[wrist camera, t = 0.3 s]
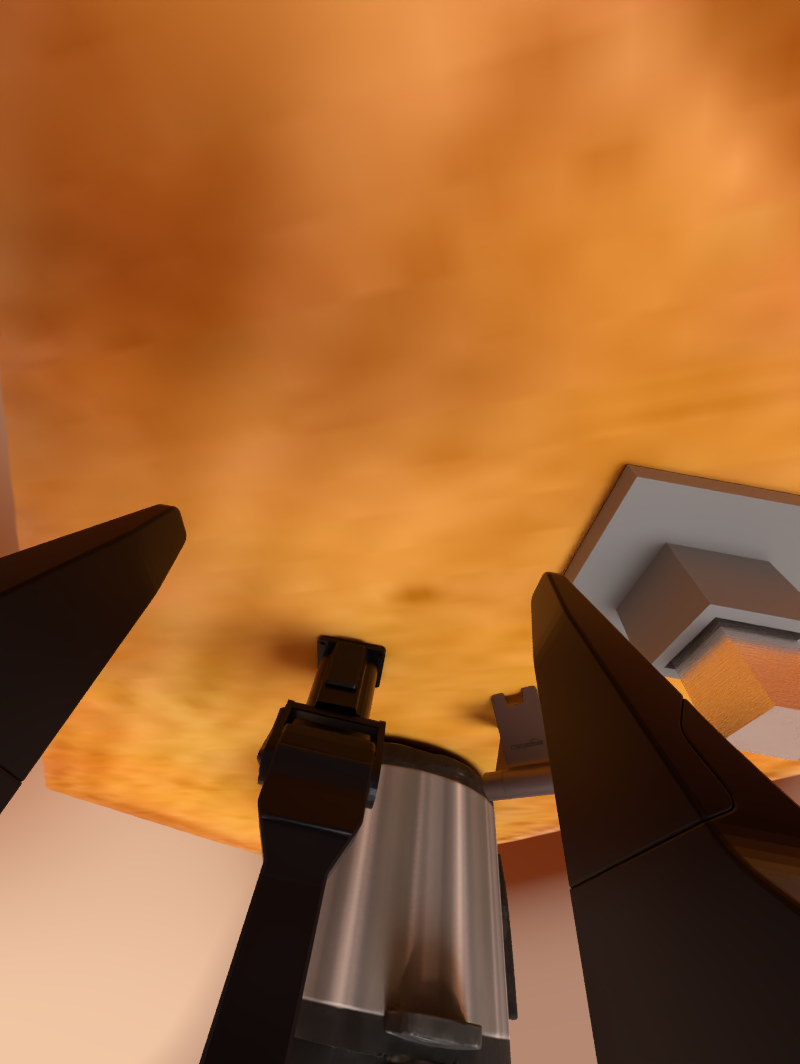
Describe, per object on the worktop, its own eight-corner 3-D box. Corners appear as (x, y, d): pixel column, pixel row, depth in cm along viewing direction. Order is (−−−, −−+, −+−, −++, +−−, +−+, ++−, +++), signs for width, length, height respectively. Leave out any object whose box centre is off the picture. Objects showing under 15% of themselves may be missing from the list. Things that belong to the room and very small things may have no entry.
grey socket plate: (710, 649, 30) (762, 732, 25) (539, 617, 30) (556, 692, 25) (867, 507, 21) (997, 589, 16) (627, 464, 22) (679, 530, 16)
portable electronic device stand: (506, 733, 42) (515, 822, 36) (471, 699, 39) (474, 791, 32) (584, 718, 39) (611, 815, 32) (554, 679, 35) (576, 778, 29)
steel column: (698, 614, 26) (795, 761, 18) (639, 603, 26) (713, 745, 18) (739, 572, 23) (871, 723, 16) (674, 560, 23) (775, 705, 16)
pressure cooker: (371, 817, 66) (319, 1163, 41) (259, 747, 54) (84, 1186, 28) (537, 806, 54) (606, 1289, 29) (442, 711, 41) (419, 1431, 16)
